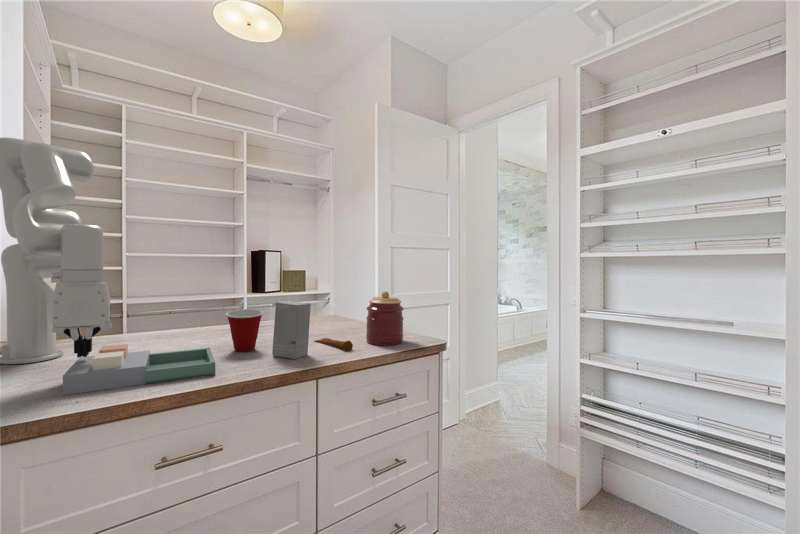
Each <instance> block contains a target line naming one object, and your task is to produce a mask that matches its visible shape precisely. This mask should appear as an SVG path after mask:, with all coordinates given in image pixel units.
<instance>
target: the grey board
mask: <svg viewBox="0 0 800 534" xmlns="http://www.w3.org/2000/svg"><path fill="white" fill-rule="evenodd" d="M150 354H151V350H142V351H131V352H129V351H128V355H127V357H126V359H124V363H123V365H122V367H119V368H110V369H101V370H93V366H92V359H93V358H94V356H95V355H90V356H89V355H87V357H83V356H82V357H78V359H77V360H76V361H75V362H74V363H73V364H72V365H71V366H70V367H69V369H67V370H66V371H65V373H63V375H62V395H63V396H64V395H66V396H67V395H73V394H79V393H86V392H87V393H89V392H93V391H94V392H95V391H102V390H109V389H118V388H125V387H131V386H139V385H147V384H146V370H149V366H150Z"/></svg>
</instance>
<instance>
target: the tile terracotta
mask: <svg viewBox="0 0 800 534" xmlns="http://www.w3.org/2000/svg"><path fill="white" fill-rule="evenodd" d="M119 351H124V359H126V357H127V355H128V353H129V344H128V343H125V344H114V345H113V344H112V345H103V346H101V348H100V349H99V350H98V353H108V352H119Z"/></svg>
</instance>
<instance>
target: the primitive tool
mask: <svg viewBox="0 0 800 534" xmlns="http://www.w3.org/2000/svg"><path fill="white" fill-rule="evenodd" d="M313 342H314V343H318V344H322V345H326V346H330V347H333V348H336V349H341V350H343V351H344V352H348V351H349V352H350V351H352V349H353V346H354V344H353V343H352V341H351V340H346V341H343V340H338V339H337V340H336V339H331V338H327V337H325V338H321V339H316V340H313Z"/></svg>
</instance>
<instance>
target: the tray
mask: <svg viewBox="0 0 800 534" xmlns="http://www.w3.org/2000/svg"><path fill="white" fill-rule="evenodd" d="M202 376H204V377H210V376H216V361H215V358H214V356H213V353H212V350H211V347H207V348H206V347H205V348H196V349H185V350H176V351H165V352H157V353H150V366H149V370H146V384H145V385H152V384H159V383H158V382H160V383H165V382H166V381H167V382H172V381H174V380H175V381H180V379H182V380H188V378H189V379H195V378H194V377H197V378H203V377H202Z"/></svg>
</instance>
